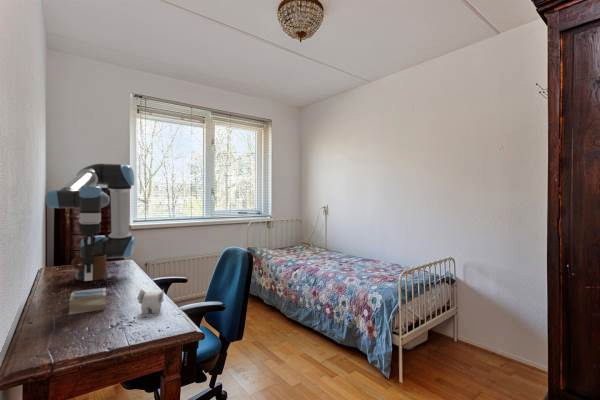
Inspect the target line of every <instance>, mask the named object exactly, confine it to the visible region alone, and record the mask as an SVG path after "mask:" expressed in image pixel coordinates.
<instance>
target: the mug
mask: <svg viewBox="0 0 600 400" xmlns="http://www.w3.org/2000/svg"><path fill="white" fill-rule="evenodd" d="M77 262H79V263H80V262H85V259H84V258H81V257H80V256H77V257H74V258H73V259H72V261H71V267H72V268H73V269H75V270H77V271H78V270H82V271H84V275H85V265H84V266H80V264H79V265H78V264H77ZM106 267H107V258H106V255H104V254H96V255H93V280H92V281H97V280H102V279H104V278H106V277H105V276H106Z"/></svg>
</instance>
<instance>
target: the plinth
mask: <svg viewBox="0 0 600 400" xmlns="http://www.w3.org/2000/svg"><path fill="white" fill-rule="evenodd" d="M68 304H69V305H68V315H75V314H82V313H88V312H95V311H101V310H106V309H107V308H106V307H107V306H106V305H107V288H106V287H99V288H91V289H83V290H75V291H72V292H71V294H70V296H69V299H68Z"/></svg>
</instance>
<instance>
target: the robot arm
mask: <svg viewBox="0 0 600 400" xmlns="http://www.w3.org/2000/svg"><path fill="white" fill-rule="evenodd" d="M95 185H97V186H95ZM98 185H103V186H107V190H109V192H110V196H109V195H108V194H107V193H106V192H104V191H102V188H101V187H100V186H98ZM134 185H135V174H134V169H133V167H132V166H131V165H129V164H119V163H118V164H117V163H95V164H91V165H88V166H85V167H83V168H82V169H80V170H79V171H78V172H77V173H76V176H75V177H74V178H72V179H71V180H70V181H69V182H68V183H67V184H65V185H64V186H63V187H62V188H60V189H59V190H57V189H56V190H48V191H47V192H46V194H45V203H46V206H47V207H48V208H52V209H78V212H79V214H78V215H77V216H76V217H77V219H78V222H79V224H78V233H79V234H86V235H85V236H84V237H83V238H82V239H81V240H80V247H79V249H80V251H79V252H80V253H79V255H80V256H79V257H81V258H84V259H85V262H80V261H79V266H84V265H85V275H84V271H82V270H78V269H77V271H76V274H75V280H77V281H83V282H87V281H94V280H93V255H96V254H104V255H106V259H118V258H119V259H123V258H130V257H131V256H132V255H133V253H134V250H135V245H136V237H133V234H132V232H130V231H129V229H130V227H129V220H130V219H129V216H130V215H129V191H130V190H131V189H132V187H133V186H134ZM109 204H110V215H111V216H110V217H111V219H110V220H111V221H110V222H111V224H110V225H111V233H109V234H108V237H106V235H94V234H99V233H101V231H102V230H101V229H102V228H101V226H102V225H101V222H102V208H103V209H104V208H105V207H107V206H108V205H109ZM108 276H109V271H108V267H107V266H106V276H105V278H107V277H108Z"/></svg>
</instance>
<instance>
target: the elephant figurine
mask: <svg viewBox="0 0 600 400" xmlns="http://www.w3.org/2000/svg"><path fill="white" fill-rule="evenodd" d="M164 292H165V290H164V288H163V289H162V291H145V290H143V289H140V290H139V293H138V296H137V298H136V299H137V301H138V303H139V304H140V306H141V307H140V310H141V314H142V315H146V314H149V313H150V311H151V314H157V313H159V311H161V308H162V303H164V301H165V300H164Z"/></svg>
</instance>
